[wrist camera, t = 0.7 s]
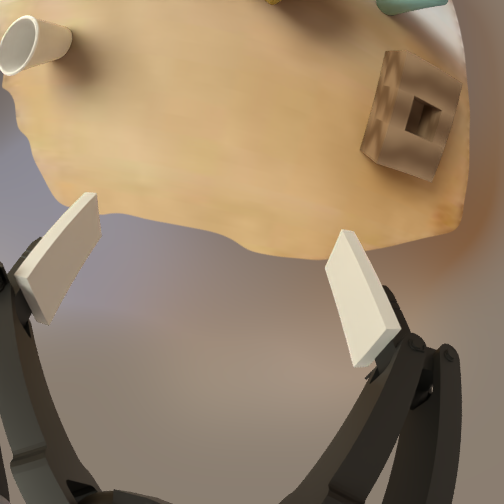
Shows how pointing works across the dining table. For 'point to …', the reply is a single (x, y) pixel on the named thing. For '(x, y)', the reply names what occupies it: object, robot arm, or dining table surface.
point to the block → (411, 115)
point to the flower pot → (273, 1)
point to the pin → (406, 5)
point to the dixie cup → (32, 44)
